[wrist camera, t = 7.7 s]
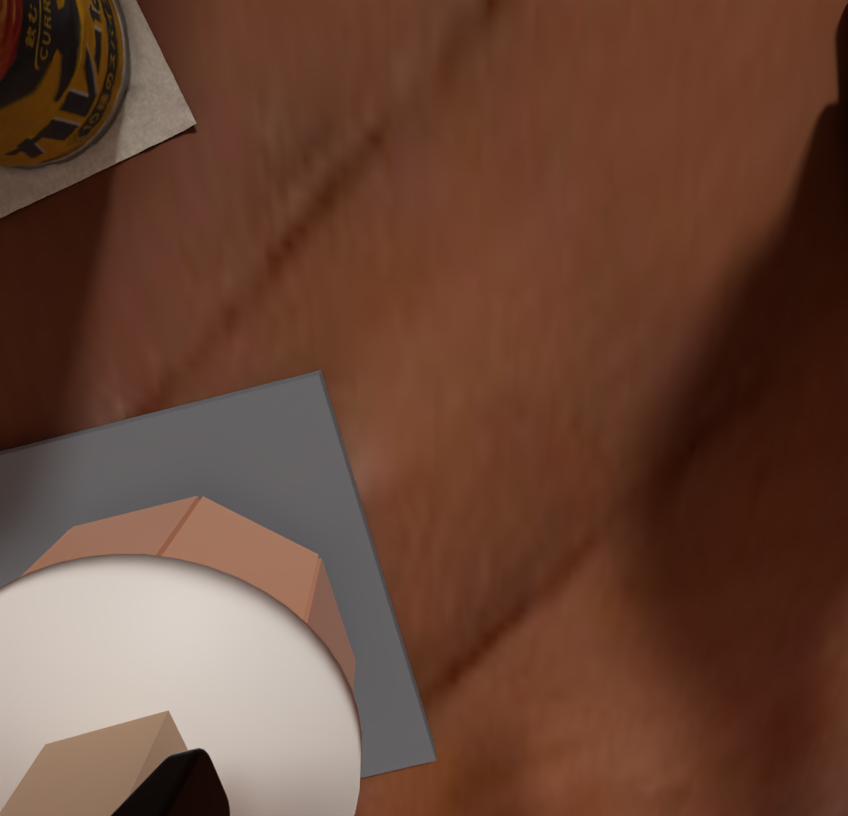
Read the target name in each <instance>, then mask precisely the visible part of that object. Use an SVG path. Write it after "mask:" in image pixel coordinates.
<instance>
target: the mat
mask: <svg viewBox="0 0 848 816" xmlns="http://www.w3.org/2000/svg"><path fill="white" fill-rule="evenodd" d="M194 496H198V497H199V500H201V498H202V497H203V496H204V497H206V498H208V499H209V500H211V501H213V502H215V503H217V504H219V505H221V506H223V507H225V508H227V509H229V510H231V511H233V512H235V513H237V514H239V515H241V516H243V517H245V518H247V519H249V520H251V521H253V522H255V523H257V524H259V525H261V526H263V527H265V528H267V529H269V530H271V531H273V532H275V533H277V534H279V535H281V536H283V537H285V538H287V539H289V540H291V541H293V542H295V543H297V544H299V545H301V546H303V547H305V548H307V549H309V550H311V551H313V552H315V553H317V554H319V555H318V559H319V558H322V560H323V563H324V566H325V569H326V572H327V575H328V579H329V582H330V585H331V588H332V591H333V594H334V597H335V600H336V603H337V606H338V609H339V612H340V615H341V618H342V621H343V624H344V627H345V630H346V633H347V636H348V639H349V642H350V645H351V648H352V651H353V654H354V657H355V660H356V665H355V676H354V687H353V694H354V698H355V701H356V704H357V708H358V711H359V717H360V724H361V731H362V758H361V773H360V778H363V777H368V776H372V775H376V774H381V773H385V772H389V771H394V770H398V769H402V768H407V767H411V766H415V765H419V764H424V763H428V762H432V761H436V750H435V744H434V741H433V738H432V735H431V731H430V728H429V725H428V721H427V718H426V715H425V711H424V708H423V705H422V701H421V698H420V695H419V692H418V688H417V685H416V682H415V678H414V675H413V672H412V668H411V665H410V662H409V658H408V655H407V652H406V649H405V645H404V642H403V639H402V635H401V632H400V629H399V625H398V622H397V619H396V615H395V612H394V609H393V606H392V602H391V599H390V596H389V592H388V589H387V586H386V582H385V579H384V576H383V572H382V569H381V566H380V563H379V559H378V556H377V553H376V549H375V546H374V543H373V539H372V536H371V533H370V529H369V526H368V523H367V520H366V516H365V513H364V510H363V506H362V503H361V500H360V496H359V493H358V490H357V487H356V483H355V480H354V477H353V473H352V470H351V467H350V463H349V460H348V457H347V453H346V450H345V447H344V444H343V440H342V437H341V434H340V430H339V427H338V424H337V420H336V417H335V414H334V410H333V407H332V404H331V401H330V397H329V394H328V391H327V387H326V384H325V381H324V377H323V374H322V371H321V370H319V371H315V372H311V373H307V374H303V375H299V376H295V377H291V378H288V379H284V380H280V381H276V382H272V383H268V384H264V385H260V386H256V387H252V388H248V389H244V390H240V391H236V392H232V393H228V394H224V395H220V396H216V397H212V398H209V399H205V400H201V401H197V402H193V403H189V404H185V405H181V406H177V407H173V408H169V409H165V410H161V411H157V412H153V413H149V414H145V415H141V416H137V417H133V418H130V419H126V420H122V421H118V422H114V423H110V424H106V425H102V426H98V427H94V428H90V429H86V430H82V431H78V432H74V433H70V434H66V435H62V436H58V437H54V438H51V439H47V440H43V441H39V442H35V443H31V444H27V445H23V446H19V447H15V448H11V449H7V450H3V451H0V588H1V587H2V586H4V585H6V584H8V583H10V582H12V581H14V580H16V579H17V578H19V577H21V576H22V575H23V574H24V573H25V572H26V571H27V570H28V569H29V568H30V567H31V566H32V565H33V564H34V563H35V562H36V561H37V560H38V559H39V558H40V557H41V556H42V555H43V554H45V553H46V552H47V551H48V550H49V549H50V548H51V547H52V546H53V545H54V544H55V543H56V542H57V541H58V540H59V539H60V538H61V537H62V536H63V535H64V534H65V533H66V532H67V531H68V530H69V529H71V528H72V527H73V526H77V525H81V524H85V523H89V522H94V521H98V520H102V519H106V518H110V517H114V516H118V515H122V514H126V513H130V512H134V511H138V510H142V509H146V508H150V507H154V506H158V505H162V504H166V503H170V502H174V501H178V500H182V499H186V498H190V497H194Z"/></svg>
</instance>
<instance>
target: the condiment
mask: <svg viewBox="0 0 848 816" xmlns="http://www.w3.org/2000/svg"><path fill="white" fill-rule="evenodd" d="M195 124H197V123H196V121H195V119H194V117H193V115H192V113H191V111H190V109H189V107H188V105H187V103H186V101H185V99H184V97H183V95H182V93H181V91H180V89H179V87H178V85H177V83H176V81H175V79H174V76H173V74H172V72H171V70H170V68H169V66H168V64H167V62H166V61H165V59H164V56H163V54H162V52H161V50H160V48H159V46H158V44H157V42H156V40H155V38H154V36H153V33H152V31H151V29H150V27H149V25H148V23H147V21H146V19H145V17H144V15H143V13H142V11H141V9H140V7H139V5H138V3H137V1H136V0H0V218H2V217H4V216H6V215H8V214H10V213H12V212H14V211H16V210H18V209H20V208H23V207H25V206H27V205H29V204H31V203H33V202H35V201H38V200H40V199H42V198H44V197H46V196H48V195H51V194H53V193H55V192H57V191H60V190H62V189H64V188H66V187H68V186H70V185H72V184H75V183H77V182H79V181H81V180H83V179H85V178H87V177H89V176H91V175H93V174H95V173H97V172H99V171H101V170H103V169H106V168H108V167H110V166H112V165H114V164H116V163H118V162H120V161H122V160H124V159H127V158H129V157H131V156H133V155H135V154H137V153H139V152H141V151H143V150H145V149H147V148H149V147H151V146H153V145H155V144H158V143H160V142H162V141H164V140H166V139H168V138H170V137H172V136H174V135H176V134H178V133H180V132H182V131H184V130H186V129H188V128H190V127H191V126H193V125H195Z"/></svg>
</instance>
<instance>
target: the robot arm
mask: <svg viewBox="0 0 848 816" xmlns="http://www.w3.org/2000/svg"><path fill="white" fill-rule="evenodd" d="M110 816H230V806H229V801H228V798H227V795H226V792H225V790H224V788H223V785H222V783H221V781H220V779H219V776H218V774H217V772H216V769H215V767H214V765H213V762H212V760H211V758H210V756H209V754H208V753H207V752H206V751H205V750H204V749H201V748H195V749H191V750H187V751H182V752H178V753H174V754H172V755H170V756H168V757H167V758H166V759H165V760H164V761H163V762H162V763H161V764H160V765H159V766H158V767H157V768H156V769H155V770H154V771H153V772H152V773H151V774H150V775H149V776H148V777H147V778H146V779H145V780H144V781H143V782H142V783H141V784H140V785H139V786H138V787H137V789H136V790H135V791H134V792H133V793H132V794H131V795H130V796H129V797H128V798H127V799H126V800H125V801H124V802H123V803H122V804H121V805H120V806H119V807H118V808H117V809H116V810H115V811H114V812H113V813H112V814H111V815H110Z"/></svg>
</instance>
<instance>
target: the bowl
mask: <svg viewBox="0 0 848 816" xmlns="http://www.w3.org/2000/svg"><path fill="white" fill-rule="evenodd" d="M107 554H148V555H156V556H163V557H171V558H178V559H182V560H186V561H190V562H194V563H198V564H202V565H206V566H209V567H212V568H215V569H217V570H220V571H223V572H225V573H228V574H231V575H233V576H236V577H238V578H240V579H242V580H244V581H246V582H248V583H250V584H252V585H254V586H256V587H258V588H260V589H262V590H264V591H265V592H267V593H268V594H270V595H271V596H272V597H274V598H275V599H277V600H278V601H280V602H281V603H283V604H284V605H286V606H287V607H289V608H290V609H291V610H292V611H293V612H294V613H295V614H297V615H298V616H299V617H300V618H301V619H302V620H304V621H305V622H306V623H307V624H308V625H309V626H310V627H311V628H312V629H313V630H314V631H315V633H316V634H317V635H318V636H319V637H320V638H321V639H322V640H323V642H324V643H325V644H326V645H327V646H328V648H329V649H330V651H331V652H332V654H333V655H334V657H335V658H336V660H337V661H338V663H339V664H340V666H341V667H342V670H343V672H344V674H345V676H346V678H347V680H348V682H349V684H350V686H351V688H352V691H353V687H354V676H355V665H356V660H355V657H354V654H353V651H352V648H351V645H350V642H349V639H348V636H347V633H346V630H345V627H344V624H343V621H342V618H341V615H340V612H339V609H338V606H337V603H336V600H335V597H334V594H333V591H332V588H331V585H330V582H329V579H328V575H327V572H326V569H325V566H324V563H323V560H322V558H319V559H318V555H319V554H317V553H315V552H313V551H311V550H309V549H307V548H305V547H303V546H301V545H299V544H297V543H295V542H293V541H291V540H289V539H287V538H285V537H283V536H281V535H279V534H277V533H275V532H273V531H271V530H269V529H267V528H265V527H263V526H261V525H259V524H257V523H255V522H253V521H251V520H249V519H247V518H245V517H243V516H241V515H239V514H237V513H235V512H233V511H231V510H229V509H227V508H225V507H223V506H221V505H219V504H217V503H215V502H213V501H211V500H209V499H208V498H206V497H204V496H203V497H202V498H201V500H199V497H198V496H194V497H190V498H186V499H182V500H178V501H174V502H170V503H166V504H162V505H158V506H154V507H150V508H146V509H142V510H138V511H134V512H130V513H126V514H122V515H118V516H114V517H110V518H106V519H102V520H98V521H94V522H89V523H85V524H81V525H77V526H73V527H72V528H71V529H69V530H68V531H67V532H66V533H65V534H64V535H63V536H62V537H61V538H60V539H59V540H58V541H57V542H56V543H55V544H54V545H53V546H52V547H51V548H50V549H49V550H48V551H47V552H46V553H45V554H43V555H42V556H41V557H40V558H39V559H38V560H37V561H36V562H35V563H34V564H33V565H32V566H31V567H30V568H29V569H28V570H27V571H26V572H25V573H24V574H23V575H25V574H27V573H30V572H32V571H35V570H38V569H41V568H44V567H46V566H49V565H52V564H55V563H59V562H63V561H68V560H72V559H77V558H81V557H87V556H97V555H107ZM23 575H22V576H23Z"/></svg>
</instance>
